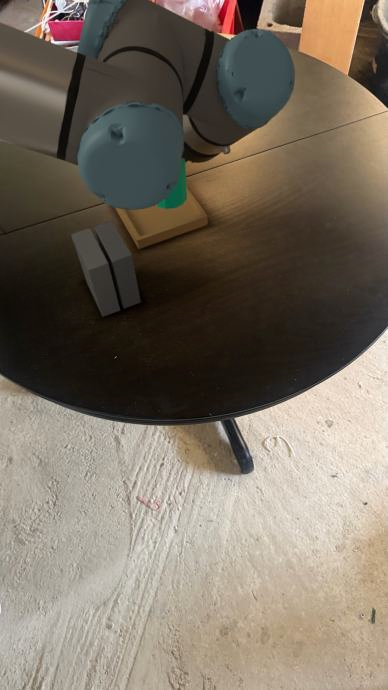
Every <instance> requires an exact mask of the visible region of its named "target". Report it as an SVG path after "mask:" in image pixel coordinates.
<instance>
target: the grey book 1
mask: <svg viewBox="0 0 388 690" xmlns="http://www.w3.org/2000/svg"><path fill="white" fill-rule="evenodd" d="M70 236H71V239H72V242H73V245H74V248H75V251H76V254H77V257H78V260H79V263H80V266H81V269H82V272H83V276H84V278H85V282H86V284H87V286H88V288H89V290H90V293H91V295H92V298H93V299H94V302H95V304H96V306H97V308H98V309H99V312H100V314H101V316H102V317H103V318H105V317H106V316H109V315H111V314H115V313H117V312H119V311H121V308H120V304H119V298H118V296H117V294H116V292H115V288H114V284H113V280H112V276H111V272H110V268H109V264H108V262H107V260H106V258H105V256H104V254H103V252H102V250H101V248H100V246H99V243H98V240H97V237H95V234H94V233H93V231H92V229H91V227H89V228H86V229H83V230H79V231H76V232H73V233H70Z"/></svg>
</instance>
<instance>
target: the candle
mask: <svg viewBox="0 0 388 690" xmlns="http://www.w3.org/2000/svg"><path fill="white" fill-rule="evenodd" d="M186 166H187V165H186V163H185V159H184V158H182V159H181V166H180V174H179V178H178V183H177V184H176V186H175V187H174V189H173V190H172V192H171V193H170V194H169V195H168V196H167V197H166V198H165V199H164V200H163V201H161V202H160V203H158V204H156V206H157V207H161V208H164V209H172V208H177V207H179V206H181V205H183V204H184V202H185V201H186V199H187V188H188V186H187V171H186V170H187V169H186V168H187V167H186Z"/></svg>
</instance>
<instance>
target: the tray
mask: <svg viewBox="0 0 388 690" xmlns="http://www.w3.org/2000/svg"><path fill="white" fill-rule="evenodd" d="M114 209H115V211H116V212H117V214H118V216H119V217H120V219H121V221H122V223H123V225H124V227H125V228H126V230H127V231H128V233H129V235H130V237H131V239H132V240H133V242H134V243H135V245H136V247H137V249H138V250H140V249H143V248H146V247H150V246H151V245H154V244H158V243H160V242H163V241H166V240H169V239H171V238H174V237H178V236H180V235H182V234H186V233H189V232H191V231H194V230H196V229H199V228H203V227H205V226H208V225H209V221H208V220H209V216H208V214H207V213H206V211H205V210H204V209H203V207H202V206H201V204H200V203H199V202H198V200H197V199H196V197H195V196H194V194H192V192H191V191H190V189H189V188H188V187H187V199H186V201H185V202H184V204H183V205H181V206H179V207H177V208H172V209H164V208H161V207H157V206H156V205H154V206H152V207H149V208H146V209H139V210H125V209H119V208H115V207H114Z"/></svg>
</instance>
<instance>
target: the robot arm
mask: <svg viewBox="0 0 388 690" xmlns="http://www.w3.org/2000/svg"><path fill="white" fill-rule="evenodd" d="M87 2H88V3H87V7H86V10H85V14H84V19H83V23H82V27H81V32H80V35H79V40H78V44H77V45H78V46H77V51H74V50H72V49H69V48H66V47H65V46H61V45H59V44H57V43H54V42H51V41H49V40H46V39H43V38H41V37H38V36H36V35H33V34H31V33H28V32H26V31H23V30H21V29H18V28H16V27H13V26H12V25H11V26H10V25H8V24H5V23H3V22H0V142H4V143H6V144H10V145H13V146H16V147H20V148H24V149H26V150H29V151H33V152H36V153H39V154H42V155H44V156H48V157H51V158H55V159H57V160H61V161H64V162H67V163H69V164H72V165H74V166H78V172H79V176H80V177H81V180H82V182H83V184H84V185H85V187H86V188H87V190H88V191H89V192H90V193H91V194H94V195H95V196H96V197H97V198H99V199H100V200H102V202H103V203H104V204H106V205H108V206H109V207H113V208H114V209H115V208H119V209H125V210H139V209H146V208H149V207H152V206H154V205H156V204H158V203H160V202H161V201H163V200H164V199H165V198H166V197H167V196H168V195H169V194H170V193H171V192H172V190H173V189H174V187H175V186H176V184H177V183H178V178H179V174H180V166H181V159H182V158H184V159H185V164H187V162H190V163H191V164H194V163H195V164H196V163H197V164H202V163H206V162H209V161H211V160H213V159H214V158H215V157H218V156H219V155H220V154H222V153H223V155H228V154H230V153H231V151H232V149H231V146H232V145H234V144H236V143H237V142H239V141H240V140H242V139H243V138H245V137H246V136H248V135H251V134H252V133H253V132H255V131H257V130H258V129H260V128H263V127H265V126H266V125H267V124H268V123H269V122H270V121H272V119H273V118H275V117H276V116H277V115H278V114H279V113H280V111H282V110H283V109H284V108H285V106H286V105H287V104H288V102H289V101H290V100H291V99H290V98H291V97H292V94H293V91H294V89H295V82H296V72H295V70H296V69H295V65H294V60H293V57H292V55H291V52H290V51H289V48H288V47H287V45H286V44H285V43H284V41H282V40H281V38H279V36H277V35H276V34H275V33H273V32H271V31H269V30H266V29H263V28H259V29H258V28H252V29H245V30H244V31H243V30H242V31H241V32H239V33H237V34H235V35H233V37H231V38H228V37H226V36H224V35H222V34H220V33H218V32H216V31H214V30H210V29H208V28H205V27H203V26H201V25H199V24H197V23H196V22H193V21H192V20H189V19H188V18H186V17H184V16H182V15H180V14H178V13H176V12H174V11H172V10H170V9H168V8H166V7H164V6H162V5H160V4H158V3H156V2H154V1H152V0H88V1H87Z"/></svg>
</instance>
